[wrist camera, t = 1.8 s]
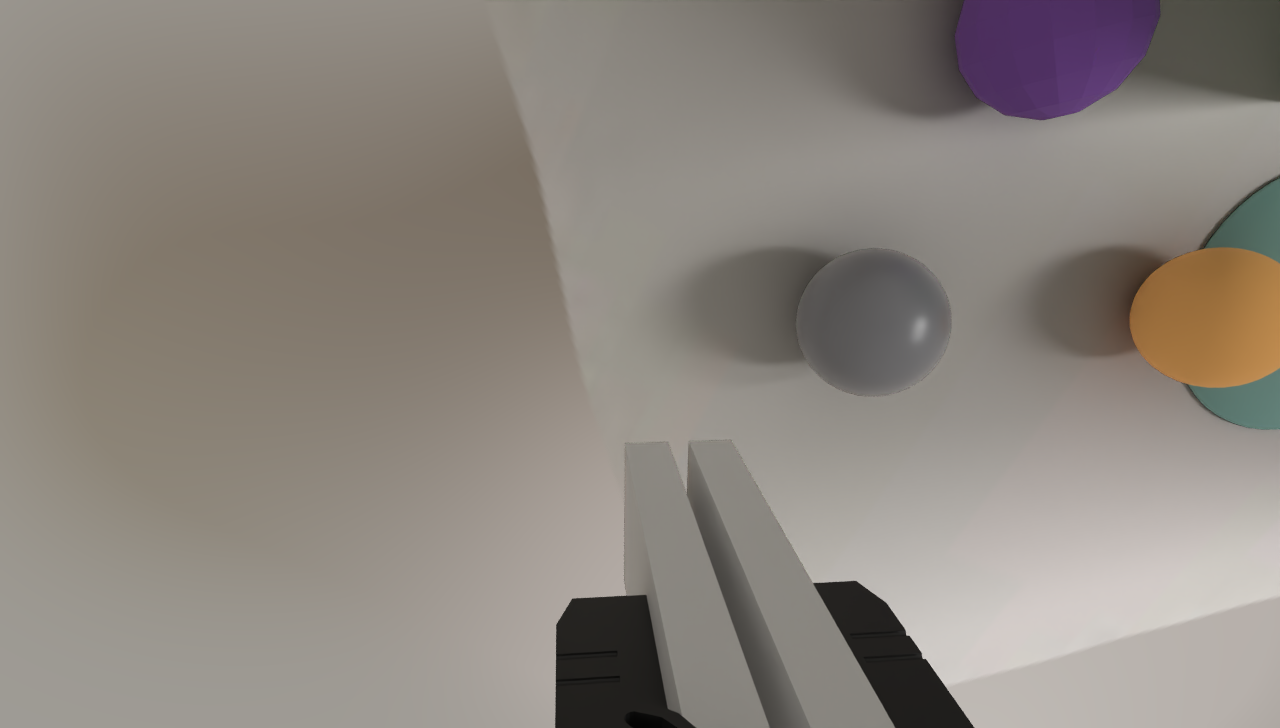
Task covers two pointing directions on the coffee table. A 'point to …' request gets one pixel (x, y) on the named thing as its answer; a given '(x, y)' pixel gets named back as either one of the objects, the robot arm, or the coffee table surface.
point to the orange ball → (1210, 317)
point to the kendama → (1051, 51)
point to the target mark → (1276, 229)
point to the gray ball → (873, 322)
